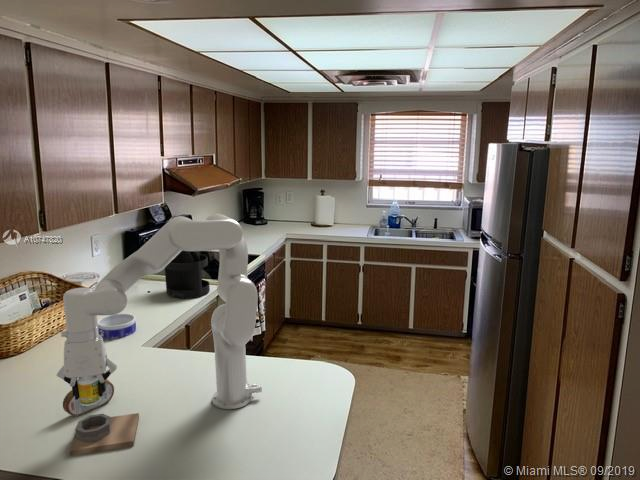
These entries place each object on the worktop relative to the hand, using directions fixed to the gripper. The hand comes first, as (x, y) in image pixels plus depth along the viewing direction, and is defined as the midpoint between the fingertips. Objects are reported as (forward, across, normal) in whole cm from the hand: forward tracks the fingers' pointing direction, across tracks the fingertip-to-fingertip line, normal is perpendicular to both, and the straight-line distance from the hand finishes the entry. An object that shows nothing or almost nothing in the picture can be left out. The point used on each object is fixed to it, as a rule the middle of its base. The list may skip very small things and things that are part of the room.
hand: (90, 395), depth 131 cm
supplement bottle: (+2, 0, 0) cm, 2 cm away
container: (+13, +25, +127) cm, 130 cm away
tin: (+13, -4, +16) cm, 21 cm away
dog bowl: (+13, -5, +79) cm, 80 cm away
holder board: (+13, +3, 0) cm, 13 cm away
